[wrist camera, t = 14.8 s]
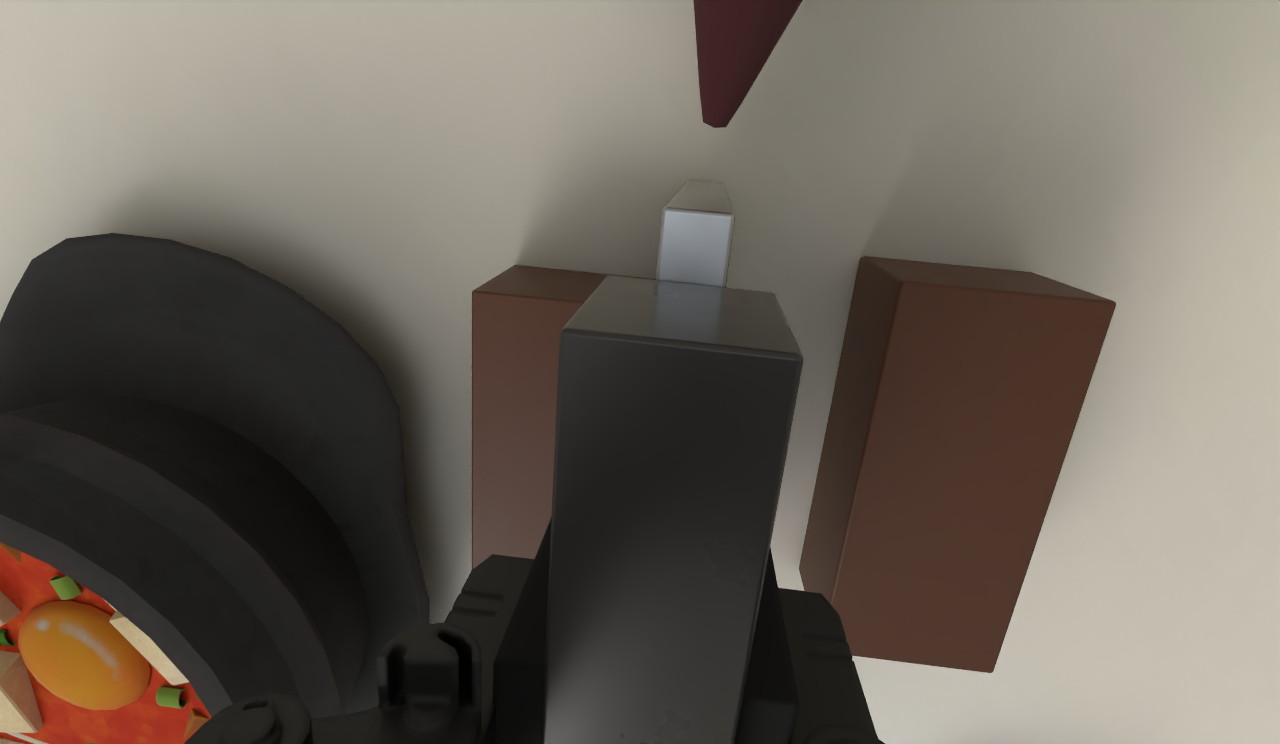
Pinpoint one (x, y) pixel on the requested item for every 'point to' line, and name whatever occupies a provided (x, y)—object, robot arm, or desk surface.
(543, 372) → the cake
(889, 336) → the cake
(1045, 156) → the desk surface
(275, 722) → the robot arm
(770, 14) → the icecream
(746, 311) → the knife
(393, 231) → the desk surface
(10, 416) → the casserole
